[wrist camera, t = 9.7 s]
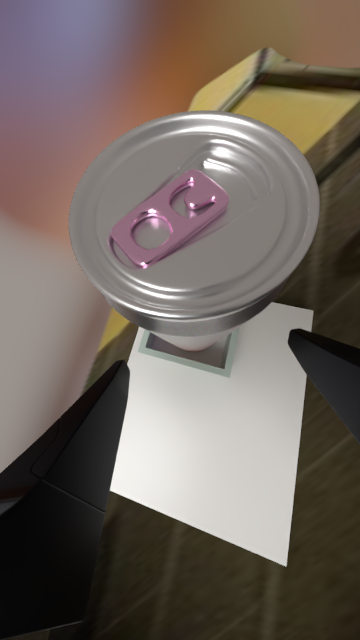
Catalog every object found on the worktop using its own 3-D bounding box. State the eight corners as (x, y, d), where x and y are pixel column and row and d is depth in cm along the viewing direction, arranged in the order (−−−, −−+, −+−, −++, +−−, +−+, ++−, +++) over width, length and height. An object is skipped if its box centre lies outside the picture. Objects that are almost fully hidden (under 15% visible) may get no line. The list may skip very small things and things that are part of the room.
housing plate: (278, 549, 14) (306, 614, 11) (97, 472, 17) (70, 504, 13) (306, 313, 18) (332, 303, 15) (157, 282, 21) (149, 267, 18)
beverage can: (157, 321, 19) (18, 197, 4) (196, 289, 19) (199, 73, 4) (190, 363, 17) (160, 401, 3) (232, 328, 18) (403, 195, 3)
